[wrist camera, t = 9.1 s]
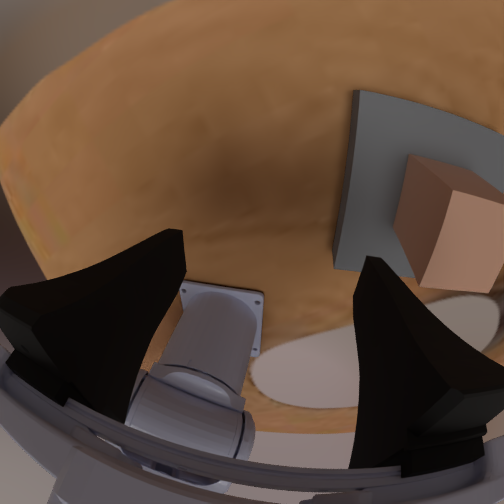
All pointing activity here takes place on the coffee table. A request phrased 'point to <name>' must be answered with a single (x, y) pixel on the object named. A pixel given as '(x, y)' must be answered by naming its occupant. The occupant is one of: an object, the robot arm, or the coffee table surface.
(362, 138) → the charcoal flat pad
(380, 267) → the robot arm
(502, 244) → the terracotta block
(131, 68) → the coffee table surface
